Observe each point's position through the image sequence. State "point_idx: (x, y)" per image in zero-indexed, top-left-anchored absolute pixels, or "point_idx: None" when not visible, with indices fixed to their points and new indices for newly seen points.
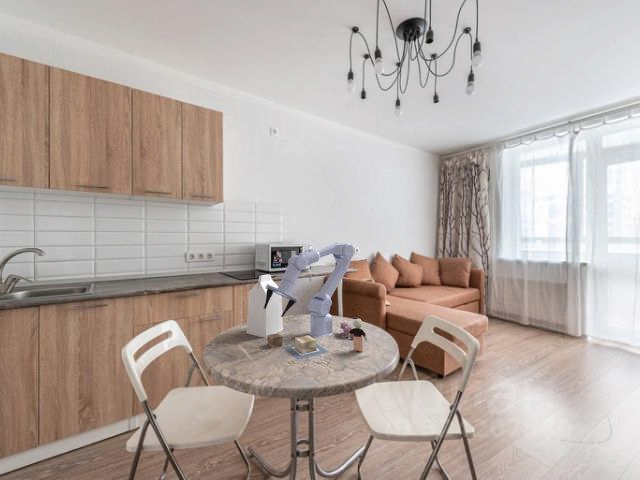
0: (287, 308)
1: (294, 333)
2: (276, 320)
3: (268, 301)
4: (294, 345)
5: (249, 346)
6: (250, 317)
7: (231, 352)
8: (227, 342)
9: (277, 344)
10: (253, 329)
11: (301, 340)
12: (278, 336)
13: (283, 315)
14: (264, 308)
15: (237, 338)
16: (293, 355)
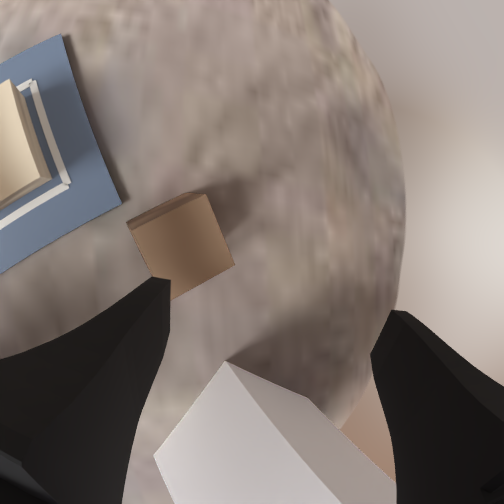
0: (83, 337)
1: None
2: (201, 467)
3: (416, 402)
4: (55, 224)
5: (294, 250)
6: (339, 437)
7: (351, 190)
8: (367, 296)
9: (157, 210)
10: (295, 401)
11: (4, 126)
12: (159, 231)
13: (141, 284)
14: (400, 311)
15: (338, 340)
16: (72, 78)
